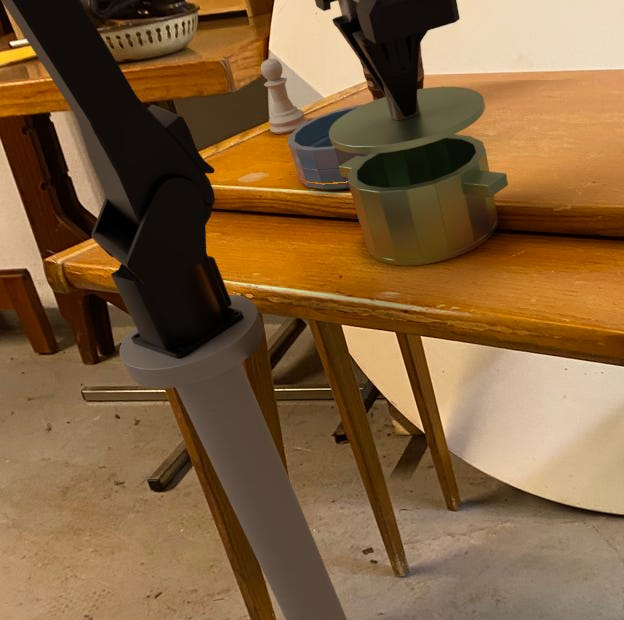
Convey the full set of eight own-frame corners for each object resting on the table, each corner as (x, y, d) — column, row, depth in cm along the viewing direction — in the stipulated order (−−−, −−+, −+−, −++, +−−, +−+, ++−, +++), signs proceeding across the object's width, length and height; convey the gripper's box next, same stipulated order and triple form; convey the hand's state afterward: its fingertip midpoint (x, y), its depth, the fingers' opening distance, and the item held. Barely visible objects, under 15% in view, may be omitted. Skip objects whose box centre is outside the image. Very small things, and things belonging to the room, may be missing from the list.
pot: (465, 280, 72) (449, 202, 68) (320, 250, 81) (298, 180, 77) (549, 216, 78) (538, 141, 74) (405, 195, 88) (388, 128, 84)
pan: (360, 199, 89) (347, 154, 86) (278, 186, 96) (264, 144, 93) (440, 149, 96) (431, 106, 93) (358, 141, 103) (347, 100, 100)
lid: (415, 168, 67) (399, 96, 64) (301, 154, 74) (280, 89, 71) (517, 104, 74) (507, 36, 71) (403, 97, 81) (389, 35, 78)
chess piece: (309, 128, 110) (288, 58, 105) (271, 137, 110) (248, 68, 105) (307, 116, 114) (287, 49, 109) (270, 126, 113) (248, 59, 108)
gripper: (509, -142, 58) (543, 108, 68) (417, -146, 72) (456, 60, 82) (344, -97, 56) (403, 153, 66) (283, -111, 70) (339, 96, 80)
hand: (404, 110), depth 73 cm, fingers closed on lid, 2 cm apart
